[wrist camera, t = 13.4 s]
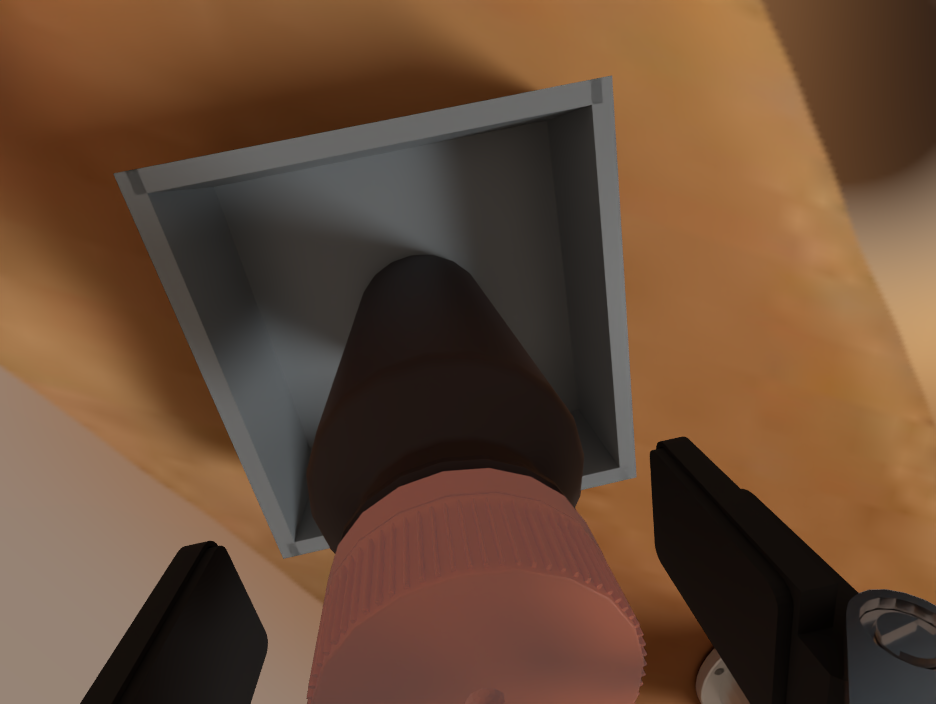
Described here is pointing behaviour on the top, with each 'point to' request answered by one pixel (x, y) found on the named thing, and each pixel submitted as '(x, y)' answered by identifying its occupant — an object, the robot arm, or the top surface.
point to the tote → (387, 240)
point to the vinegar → (457, 515)
